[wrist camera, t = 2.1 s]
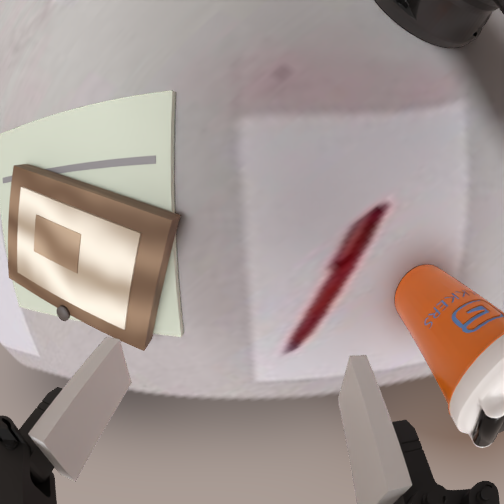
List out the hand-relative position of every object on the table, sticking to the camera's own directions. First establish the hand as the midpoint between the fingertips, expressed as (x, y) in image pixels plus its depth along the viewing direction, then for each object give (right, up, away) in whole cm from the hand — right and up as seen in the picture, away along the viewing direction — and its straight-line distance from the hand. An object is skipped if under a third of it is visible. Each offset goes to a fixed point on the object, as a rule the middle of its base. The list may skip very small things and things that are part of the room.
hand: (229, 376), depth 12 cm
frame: (-19, +5, +17) cm, 26 cm away
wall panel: (-21, +9, +17) cm, 29 cm away
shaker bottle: (+20, +1, +17) cm, 26 cm away
